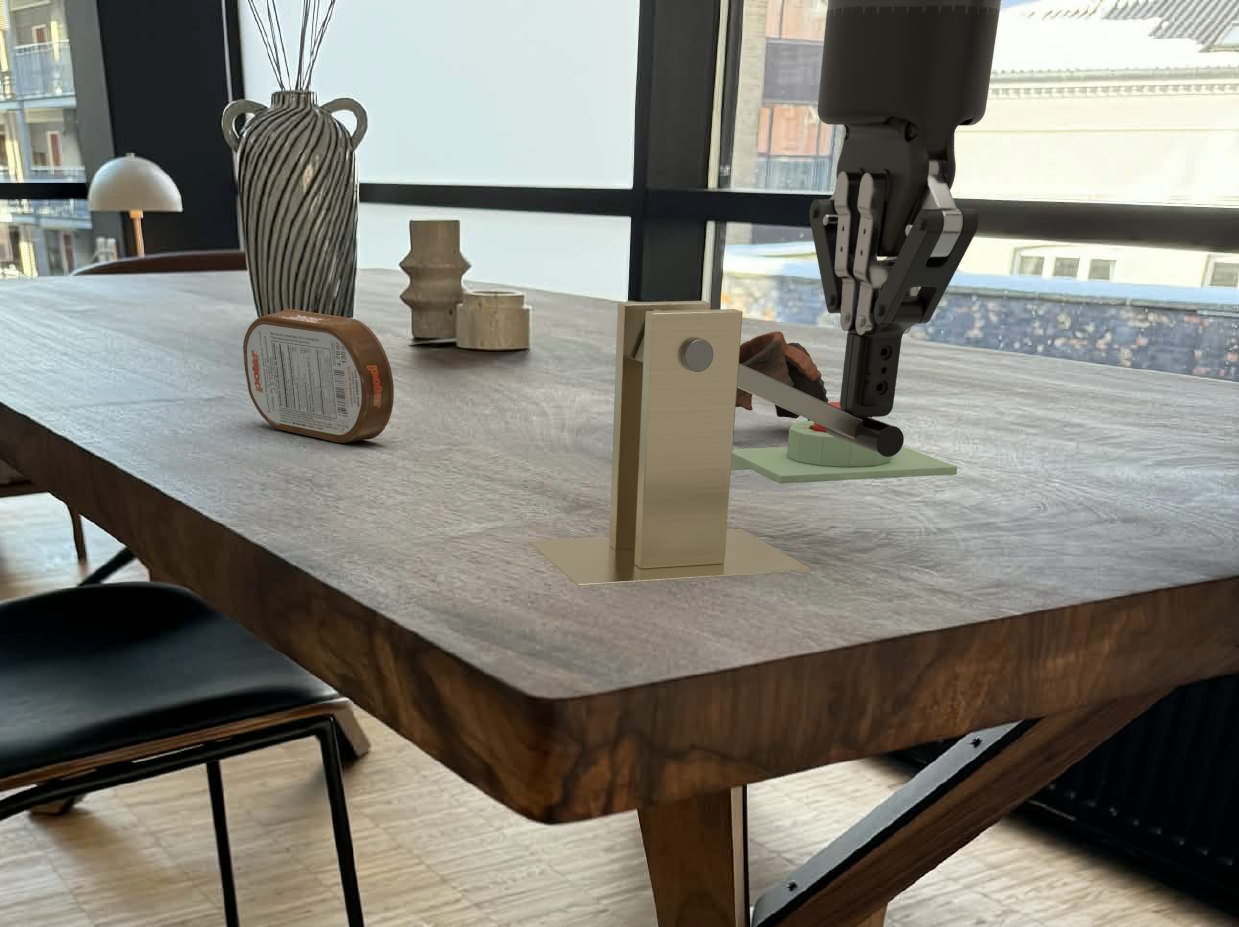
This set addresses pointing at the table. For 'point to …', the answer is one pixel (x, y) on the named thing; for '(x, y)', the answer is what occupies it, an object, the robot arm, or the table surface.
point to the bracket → (671, 456)
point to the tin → (318, 375)
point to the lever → (818, 412)
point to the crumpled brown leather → (780, 368)
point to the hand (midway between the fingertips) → (864, 413)
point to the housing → (832, 460)
